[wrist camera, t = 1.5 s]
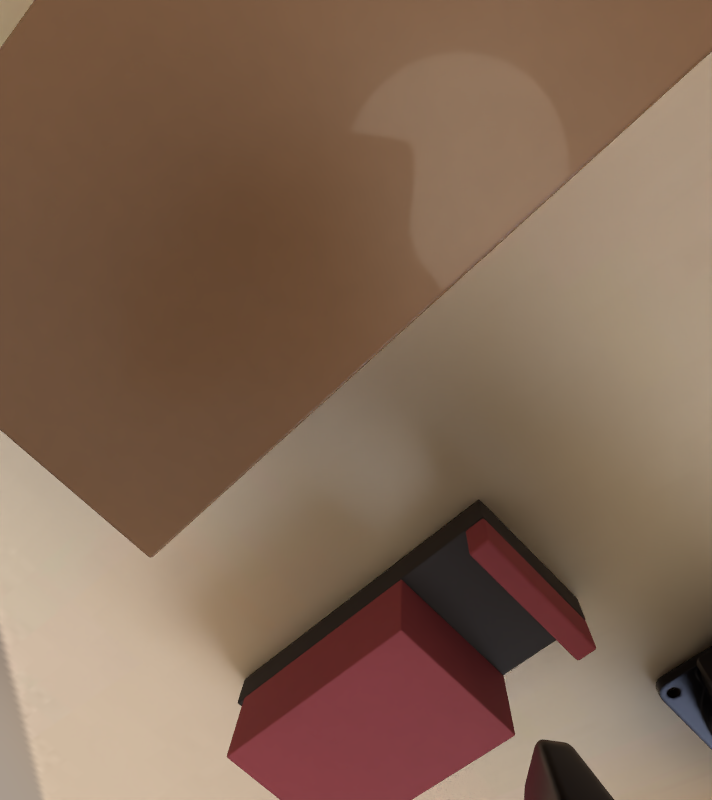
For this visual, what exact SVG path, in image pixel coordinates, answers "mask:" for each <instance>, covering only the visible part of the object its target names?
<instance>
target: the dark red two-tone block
mask: <svg viewBox="0 0 712 800" xmlns="http://www.w3.org/2000/svg"><path fill="white" fill-rule="evenodd" d="M555 640H557V641H558V642H559V643H560V644H561V645H562V646H563V647H564V648H565V649H566V650H567V651H568V652H569V653H570V654H571V655H572V656H573V657H574V658H575V659H576V660H580V659H582V658H583V657H585V656H586V655H588V654H589V653H591V652H593V651H594V650H595V649H596V645H595V643H594V640H593V638H592V636H591V633H590V631H589V628H588V626H587V623H586V621H585V617H584V615H583V612H582V610H581V607H580V605H579V602H578V600H577V598H576V597H575V596H574V595H573V594H572V593H571V592H570V591H569V590H568V589H567V588H566V587H565V586H564V585H563V584H562V583H561V582H560V581H559V580H558V579H557V578H556V577H555V576H554V575H553V574H552V573H551V572H550V571H549V570H548V569H547V568H546V567H545V566H544V565H543V564H542V563H541V562H540V561H539V560H538V559H537V558H536V557H535V556H534V555H533V554H532V553H531V552H530V551H529V550H528V549H527V548H526V547H525V546H524V545H523V543H522V542H521V541H520V540H519V539H518V538H517V537H516V536H515V535H514V534H513V533H512V532H511V531H510V530H509V529H508V528H507V527H506V526H505V525H504V524H503V523H502V522H501V521H500V520H499V519H498V518H497V517H496V516H495V515H494V514H493V513H492V512H491V511H490V510H489V509H488V508H487V507H486V506H485V505H484V504H483V503H482V502H481V501H480V500H478V501H477V502H475V503H474V504H473V505H471V506H470V507H469V508H467V509H466V510H465V511H464V512H462V513H461V514H460V515H458V516H457V517H456V518H454V519H453V520H452V521H451V522H449V523H448V524H447V525H445V526H444V527H443V528H441V529H440V530H439V531H438V532H436V533H435V534H434V535H432V536H431V537H430V538H428V539H427V540H426V541H425V542H423V543H422V544H421V545H419V546H418V547H417V548H415V549H414V550H413V551H412V552H410V553H409V554H408V555H406V556H405V557H404V558H402V559H401V560H400V561H399V562H397V563H396V564H395V565H393V566H392V567H391V568H389V569H388V570H387V571H386V572H384V573H383V574H382V575H380V576H379V577H378V578H376V579H375V580H374V581H373V582H371V583H370V584H369V585H367V586H366V587H365V588H363V589H362V590H361V591H360V592H358V593H357V594H356V595H354V596H353V597H352V598H350V599H349V600H348V601H347V602H345V603H344V604H343V605H341V606H340V607H339V608H337V609H336V610H335V611H334V612H332V613H331V614H330V615H328V616H327V617H326V618H324V619H323V620H322V621H321V622H319V623H318V624H317V625H315V626H314V627H313V628H311V629H310V630H309V631H308V632H306V633H305V634H304V635H302V636H301V637H300V638H298V639H297V640H296V641H295V642H293V643H292V644H291V645H289V646H288V647H287V648H285V649H284V650H283V651H282V652H280V653H279V654H278V655H276V656H275V657H274V658H272V659H271V660H270V661H269V662H267V663H266V664H265V665H263V666H262V667H261V668H259V669H258V670H257V671H256V672H254V673H253V674H252V675H250V676H249V677H248V678H246V679H245V681H244V684H243V687H242V690H241V693H240V697H239V700H238V704H240V705H241V706H242V708H241V711H240V714H239V718H238V721H237V724H236V727H235V731H234V734H233V737H232V741H231V744H230V747H229V751H228V754H227V758H229V759H230V760H231V761H232V762H234V763H235V764H236V765H237V766H239V767H240V768H241V769H242V770H244V771H245V772H246V773H247V774H249V775H250V776H251V777H252V778H254V779H255V780H256V781H257V782H259V783H260V784H261V785H262V786H264V787H265V788H266V789H267V790H269V791H270V792H271V793H272V794H274V795H275V796H276V797H277V798H279V799H280V800H412V799H414V798H415V797H417V796H418V795H420V794H422V793H423V792H425V791H426V790H428V789H430V788H431V787H433V786H434V785H436V784H438V783H439V782H441V781H442V780H444V779H446V778H447V777H449V776H450V775H452V774H454V773H455V772H457V771H458V770H460V769H462V768H463V767H465V766H467V765H468V764H470V763H471V762H473V761H475V760H476V759H478V758H479V757H481V756H483V755H484V754H486V753H487V752H489V751H491V750H492V749H494V748H495V747H497V746H499V745H500V744H502V743H503V742H505V741H507V740H508V739H510V738H511V737H513V736H514V735H515V732H514V727H513V721H512V716H511V711H510V706H509V701H508V696H507V691H506V686H505V681H504V676H503V675H504V674H505V673H507V672H508V671H510V670H511V669H513V668H514V667H516V666H518V665H519V664H521V663H522V662H524V661H525V660H527V659H528V658H530V657H531V656H533V655H534V654H536V653H537V652H539V651H540V650H542V649H543V648H545V647H546V646H548V645H549V644H551V643H552V642H554V641H555Z"/></svg>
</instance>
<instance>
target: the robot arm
mask: <svg viewBox="0 0 712 800" xmlns="http://www.w3.org/2000/svg"><path fill="white" fill-rule="evenodd" d="M673 687H675V688H674V689H672V690H669V689H670V688H673ZM656 689H657V691H658V693H659V695H660V697H661V699H662V700H663V701H664V702H665V703H666V704H667V705H668V706H669V707H670V708H671V709H672V710H673V711H674V712H675V713H676V714H677V715H678V716H679V717H680V718H681V719H682V720H683V721H684V722H685V723H686V724H687V725H688V726H689V727H690V728H691V729H692V730H693V731H694V732H695V733H696V734H697V735H698V736H699V737H700V738H701V739H702V740H703V741H704V742H705V743H706V744H707V745H708V746H709V747H710V748H711V749H712V646H711V647H709V648H708V649H706V650H704V651H703V652H701V653H699V654H698V655H696V656H694V657H693V658H691V659H689V660H688V661H686V662H685V663H683V664H681V665H680V666H678V667H676V668H675V669H673V670H671V671H670V672H668V673H666V674H665V675H663V676H662V677H660V678H659V679H658V680H657V682H656ZM524 800H614V799H613V798H612V796H611V795H610V794H609V793H608V791H607V790H606V789H605V787H604V786H603V785H602V784H601V782H600V781H599V780H598V779H597V777H596V776H595V775H594V773H593V772H592V771H591V770H590V768H589V767H588V766H587V765H586V763H585V762H584V761H583V759H582V758H581V757H580V756H579V754H578V753H577V752H576V751H575V749H574V748H573V747H572V746H571V745H569V744H568V743H564V742H557V741H550V740H539V741H538V742H537V744H536V745H535V748H534V752H533V756H532V760H531V764H530V768H529V772H528V776H527V780H526V784H525V793H524Z"/></svg>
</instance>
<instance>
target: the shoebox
mask: <svg viewBox="0 0 712 800" xmlns="http://www.w3.org/2000/svg"><path fill="white" fill-rule="evenodd" d="M710 52H712V0H34V2H33V3H32V5H31V6H30V7H29V9H28V10H27V12H26V13H25V14H24V16H23V17H22V19H21V20H20V21H19V23H18V24H17V26H16V27H15V29H14V30H13V31H12V33H11V34H10V36H9V37H8V38H7V40H6V41H5V43H4V44H3V45H2V47H1V48H0V430H1V431H2V432H4V433H5V434H6V435H7V436H8V437H9V438H11V439H12V440H13V441H14V442H15V443H16V444H18V445H19V446H20V447H21V448H22V449H23V450H25V451H26V452H27V453H28V454H29V455H30V456H32V457H33V458H34V459H35V460H36V461H37V462H39V463H40V464H41V465H42V466H43V467H44V468H46V469H47V470H48V471H49V472H50V473H51V474H53V475H54V476H55V477H56V478H57V479H58V480H60V481H61V482H62V483H63V484H64V485H65V486H67V487H68V488H69V489H70V490H71V491H72V492H74V493H75V494H76V495H77V496H78V497H79V498H81V499H82V500H83V501H84V502H85V503H86V504H88V505H89V506H90V507H91V508H92V509H93V510H95V511H96V512H97V513H98V514H99V515H100V516H102V517H103V518H104V519H105V520H106V521H108V522H109V523H110V524H111V525H112V526H113V527H115V528H116V529H117V530H118V531H119V532H120V533H122V534H123V535H124V536H125V537H126V538H127V539H129V540H130V541H131V542H132V543H133V544H134V545H136V546H137V547H138V548H139V549H140V550H141V551H143V552H144V553H145V554H146V555H147V556H148V557H153V556H154V555H155V554H157V553H158V552H159V551H160V550H161V549H162V548H163V547H164V546H165V545H166V544H168V543H169V542H170V541H171V540H172V539H173V538H174V537H175V536H176V535H178V534H179V533H180V532H181V531H182V530H183V529H184V528H185V527H186V526H187V525H189V524H190V523H191V522H192V521H193V520H194V519H195V518H196V517H197V516H199V515H200V514H201V513H202V512H203V511H204V510H205V509H206V508H207V507H208V506H210V505H211V504H212V503H213V502H214V501H215V500H216V499H217V498H218V497H220V496H221V495H222V494H223V493H224V492H225V491H226V490H227V489H228V488H229V487H231V486H232V485H233V484H234V483H235V482H236V481H237V480H238V479H239V478H241V477H242V476H243V475H244V474H245V473H246V472H247V471H248V470H249V469H251V468H252V467H253V466H254V465H255V464H256V463H257V462H258V461H259V460H260V459H262V458H263V457H264V456H265V455H266V454H267V453H268V452H269V451H270V450H272V449H273V448H274V447H275V446H276V445H277V444H278V443H279V442H280V441H281V440H283V439H284V438H285V437H286V436H287V435H288V434H289V433H290V432H291V431H293V430H294V429H295V428H296V427H297V426H298V425H299V424H300V423H301V422H302V421H304V420H305V419H306V418H307V417H308V416H309V415H310V414H311V413H312V412H314V411H315V410H316V409H317V408H318V407H319V406H320V405H321V404H322V403H323V402H325V401H326V400H327V399H328V398H329V397H330V396H331V395H332V394H333V393H335V392H336V391H337V390H338V389H339V388H340V387H341V386H342V385H343V384H344V383H346V382H347V381H348V380H349V379H350V378H351V377H352V376H353V375H354V374H356V373H357V372H358V371H359V370H360V369H361V368H362V367H363V366H364V365H366V364H367V363H368V362H369V361H370V360H371V359H372V358H373V357H374V356H375V355H377V354H378V353H379V352H380V351H381V350H382V349H383V348H384V347H385V346H387V345H388V344H389V343H390V342H391V341H392V340H393V339H394V338H395V337H396V336H398V335H399V334H400V333H401V332H402V331H403V330H404V329H405V328H406V327H408V326H409V325H410V324H411V323H412V322H413V321H414V320H415V319H416V318H417V317H419V316H420V315H421V314H422V313H423V312H424V311H425V310H426V309H427V308H429V307H430V306H431V305H432V304H433V303H434V302H435V301H436V300H437V299H438V298H440V297H441V296H442V295H443V294H444V293H445V292H446V291H447V290H448V289H450V288H451V287H452V286H453V285H454V284H455V283H456V282H457V281H458V280H459V279H461V278H462V277H463V276H464V275H465V274H466V273H467V272H468V271H469V270H471V269H472V268H473V267H474V266H475V265H476V264H477V263H478V262H479V261H481V260H482V259H483V258H484V257H485V256H486V255H487V254H488V253H489V252H490V251H492V250H493V249H494V248H495V247H496V246H497V245H498V244H499V243H500V242H502V241H503V240H504V239H505V238H506V237H507V236H508V235H509V234H510V233H511V232H513V231H514V230H515V229H516V228H517V227H518V226H519V225H520V224H521V223H523V222H524V221H525V220H526V219H527V218H528V217H529V216H530V215H531V214H532V213H534V212H535V211H536V210H537V209H538V208H539V207H540V206H541V205H542V204H544V203H545V202H546V201H547V200H548V199H549V198H550V197H551V196H552V195H553V194H555V193H556V192H557V191H558V190H559V189H560V188H561V187H562V186H563V185H565V184H566V183H567V182H568V181H569V180H570V179H571V178H572V177H573V176H574V175H576V174H577V173H578V172H579V171H580V170H581V169H582V168H583V167H584V166H586V165H587V164H588V163H589V162H590V161H591V160H592V159H593V158H594V157H595V156H597V155H598V154H599V153H600V152H601V151H602V150H603V149H604V148H605V147H607V146H608V145H609V144H610V143H611V142H612V141H613V140H614V139H615V138H617V137H618V136H619V135H620V134H621V133H622V132H623V131H624V130H625V129H626V128H628V127H629V126H630V125H631V124H632V123H633V122H634V121H635V120H636V119H638V118H639V117H640V116H641V115H642V114H643V113H644V112H645V111H646V110H647V109H649V108H650V107H651V106H652V105H653V104H654V103H655V102H656V101H657V100H659V99H660V98H661V97H662V96H663V95H664V94H665V93H666V92H667V91H668V90H670V89H671V88H672V87H673V86H674V85H675V84H676V83H677V82H678V81H680V80H681V79H682V78H683V77H684V76H685V75H686V74H687V73H688V72H689V71H691V70H692V69H693V68H694V67H695V66H696V65H697V64H698V63H699V62H701V61H702V60H703V59H704V58H705V57H706V56H707V55H708V54H709V53H710Z"/></svg>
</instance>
